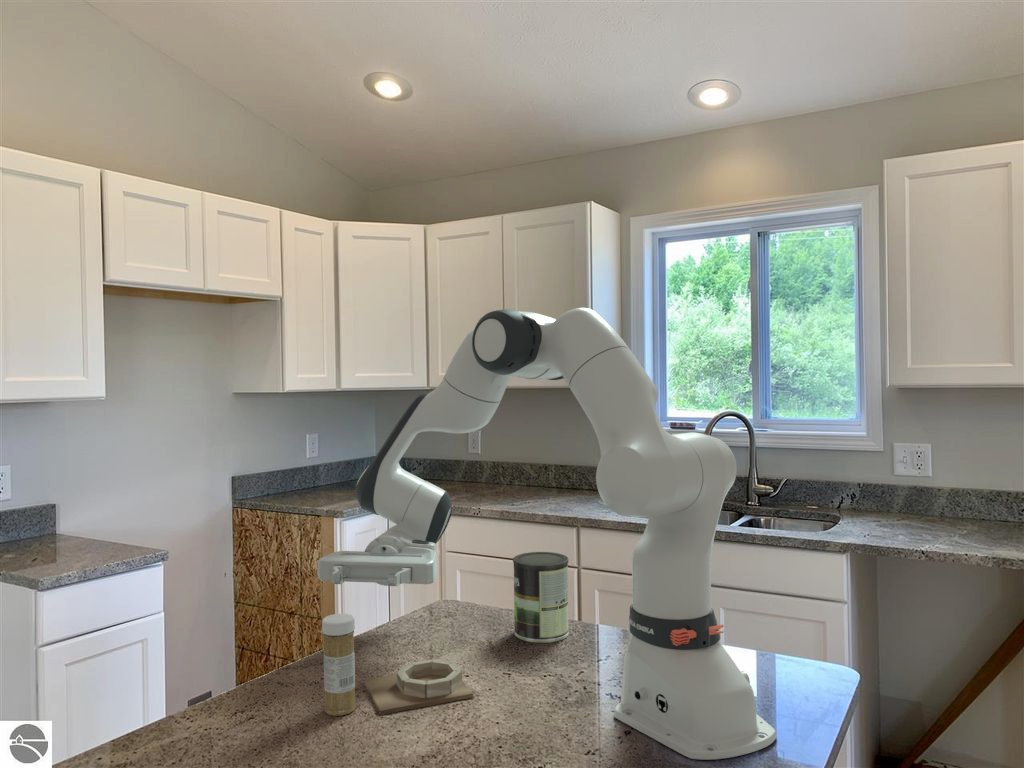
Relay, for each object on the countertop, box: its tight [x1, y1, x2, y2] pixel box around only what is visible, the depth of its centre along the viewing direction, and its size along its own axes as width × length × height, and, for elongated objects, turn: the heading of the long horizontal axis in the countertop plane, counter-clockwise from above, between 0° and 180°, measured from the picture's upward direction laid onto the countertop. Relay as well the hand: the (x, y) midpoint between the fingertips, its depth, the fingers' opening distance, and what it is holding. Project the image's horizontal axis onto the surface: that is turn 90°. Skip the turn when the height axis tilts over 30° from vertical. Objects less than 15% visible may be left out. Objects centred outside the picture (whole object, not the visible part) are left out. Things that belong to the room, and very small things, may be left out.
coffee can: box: [512, 551, 570, 644], centre depth 139 cm, size 10×10×14 cm
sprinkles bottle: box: [321, 613, 357, 717], centre depth 108 cm, size 5×5×14 cm
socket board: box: [362, 658, 474, 716], centre depth 115 cm, size 12×14×3 cm
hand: (364, 580), depth 120 cm, fingers open, 8 cm apart
